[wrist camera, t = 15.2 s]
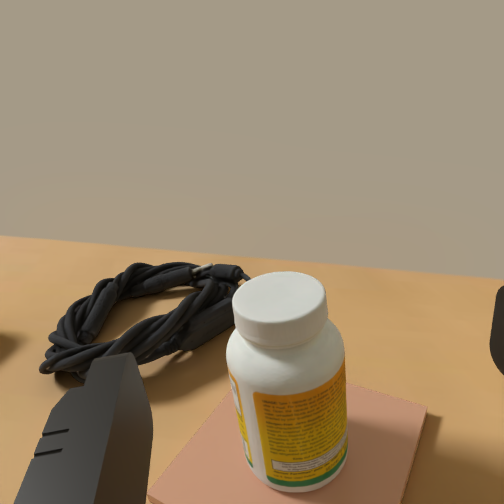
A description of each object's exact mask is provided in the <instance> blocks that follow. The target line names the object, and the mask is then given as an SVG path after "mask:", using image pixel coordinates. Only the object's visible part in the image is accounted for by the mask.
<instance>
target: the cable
mask: <svg viewBox="0 0 504 504" xmlns="http://www.w3.org/2000/svg"><path fill="white" fill-rule="evenodd" d="M242 279H244V280H246V281H249V280H251V279H250V277H249V276H248V275H246V274H244V272H243V270H242V269H241V268H240V267H239V266H237V265H226V264H216V265H214V266H213V264H212V263H210V264H206V265H203V266H198V265H195V264H191V263H185V262H172V263H166V264H162V265H159V266H152V265H149V264H145V263H134V264H132V265H130V266H129V267H128V268H127V269H126V270H125V272H122V273H120V274H118V275H117V276H116V277H115V278H107V279H103V280H101V281H99V282H98V283H97V284H96V286H95V288H94V290H93V293H92V295H89V296H86V297H84V298H81V299H79V300H77V301H76V302H74V303H73V304H72V305H71V306H70V307H69V309H68V310H67V312H66V315H64V316H63V317H62V318H61V319H60V320H59V322H58V325H57V331H54V332H52V333H51V334H50V335H49V337H48V339H49V341H50V342H51V343H53V344H54V345H53V346H52V347H50V348H49V349H48V350H47V351H46V353H45V357H46V359H47V360H46V361H44V362H43V363H42V364H41V365H40V367H39V371H40V373H42V374H51V373H54V372H56V371H59V370H62V371H67V372H70V373H71V375H72V376H73V377H74V378H75V379H76V380H77V381H79V382H81V383H84V384H85V381H86V378H87V375H88V372H89V369H90V366H91V363H92V361H93V360H94V359H95V358H101V357H106V356H112V355H117V354H123V353H128V352H131V353H132V354H133V355H134V357H135V360H136V362H137V365H142V364H146V363H149V362H151V361H154V360H156V359H159V358H161V357H163V356H165V355H166V356H168V355H170V354H172V353H174V352H176V351H178V350H183V351H188V350H193V349H195V348H197V347H199V346H200V345H202V344H204V343H205V342H207V341H208V340H210V339H212V338H213V337H215V336H216V335H218V334H220V333H221V332H223V331H224V330H226V329H227V328H229V327H231V326H232V325H234V323H235V321H234V313H233V306H232V299H233V296H234V294H235V292H236V291H237V289H238V282H239V281H240V280H242ZM182 283H185V284H187V285H189V286H192V287H204V286H205V287H204V289H203V290H202V291H198V292H194V293H191V294H189V295H188V296H187V297H186V298H184V299H183V300H182V302H181V303H180V304H179V306H178V307H177V308H175V309H174V310H172V311H171V312H169V313H168V314H164V315H158V316H154V317H151V318H148V319H145V320H143V321H141V322H139V323H137V324H136V325H134V326H133V327H132V328H130V329H129V330H128V331H127V332H125V333H124V334H123V335H122V336H121V337H120V338H118V339H116V340H112V341H110V342H106V343H105V342H104V343H94V344H90V343H91V341H92V339H95V338H96V337H97V335H98V333H99V331H100V329H101V327H102V325H103V323H104V321H105V319H106V317H107V315H108V313H109V311H110V309H111V307H112V306H113V305H114V303H115V302H117V301H120V300H123V299H126V298H129V297H132V296H133V297H138V296H142V295H145V294H153V293H157V292H161V291H163V290H165V289H167V288H170V287H174V286H177V285H179V284H182ZM228 286H229V287H231V290H230V292H229V294H227V293H228Z"/></svg>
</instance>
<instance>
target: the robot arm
mask: <svg viewBox="0 0 504 504" xmlns="http://www.w3.org/2000/svg"><path fill="white" fill-rule="evenodd" d="M490 352H491V356H492V358H493V361H494V363H495V365H496V366H497V368H498V369H499V370H500V372H501V373H502V374H503V375H504V286H502V287H501V288H500V289H499V290H498V292H497V295H496V301H495V308H494V315H493V322H492V329H491V336H490ZM152 440H153V419H152V412H151V407H150V404H149V400H148V397H147V394H146V391H145V388H144V385H143V381H142V378H141V375H140V372H139V369H138V366H137V362H136V360H135V357H134V355H133V354H132V353H131V352H128V353H123V354H117V355H112V356H106V357H101V358H95V359H94V360H93V361H92V363H91V366H90V369H89V372H88V375H87V378H86V381H85V384H84V386H81V387H76V388H70V389H69V390H68V391H67V393H66V394H65V395H64V396H63V397H62V398H61V400H60V401H59V402H58V403H57V404H56V405H55V407H54V408H53V409H52V410H51V413H50V415H49V418H48V420H47V423H46V425H45V427H44V430H43V432H42V438H40V440H39V442H38V445H37V447H36V450H35V452H34V459H32V460H31V462H30V465H29V467H28V470H27V472H26V474H25V477H24V479H23V482H22V484H21V487H20V489H19V492H18V494H17V497H16V499H15V502H14V504H145V503H146V494H147V485H148V476H149V467H150V458H151V449H152Z"/></svg>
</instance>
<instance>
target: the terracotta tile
mask: <svg viewBox="0 0 504 504" xmlns="http://www.w3.org/2000/svg"><path fill="white" fill-rule="evenodd" d="M346 403H347V427H348V453H347V458H346V462H345V464H344V466H343V468H342V469H341V471H340V472H339V474H338V475H337V476H336V477H335V478H334V479H333V480H332V481H331V482H329V483H328V484H327V485H325V486H323V487H321V488H319V489H316V490H313V491H309V492H298V493H297V492H284V491H279V490H276V489H274V488H271V487H269V486H268V485H266V484H264V483H263V482H262V481H261V480H259V479H258V478H257V477H256V475H255V474H254V473H253V472H252V470H251V469H250V467H249V465H248V463H247V460H246V457H245V452H244V448H243V443H242V438H241V434H240V429H239V423H238V418H237V413H236V407H235V403H234V397H233V392H232V389H231V390H230V391H229V393H228V394H227V395H226V396H225V398H224V399H223V400H222V401H221V402H220V404H219V405H218V406H217V407H216V409H215V410H214V411H213V412H212V413H211V415H210V416H209V417H208V418H207V420H206V421H205V422H204V423H203V424H202V426H201V427H200V428H199V429H198V431H197V432H196V433H195V434H194V436H193V437H192V438H191V439H190V440H189V442H188V443H187V444H186V445H185V447H184V448H183V449H182V450H181V451H180V453H179V454H178V455H177V456H176V458H175V459H174V460H173V461H172V462H171V464H170V465H169V466H168V467H167V469H166V470H165V471H164V472H163V473H162V475H161V476H160V477H159V478H158V480H157V481H156V482H155V483H154V485H153V486H152V487H151V488H150V489H149V491H148V492H147V496H148V499H149V501H150V502H152V503H154V504H401V502H402V499H403V495H404V492H405V489H406V485H407V482H408V478H409V475H410V471H411V468H412V464H413V461H414V457H415V454H416V450H417V447H418V444H419V440H420V437H421V433H422V430H423V426H424V423H425V419H426V416H427V406H424V405H420V404H417V403H414V402H410V401H407V400H403V399H400V398H397V397H393V396H390V395H386V394H383V393H380V392H376V391H373V390H369V389H366V388H363V387H359V386H356V385H352V384H349V383H346Z"/></svg>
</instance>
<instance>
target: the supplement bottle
mask: <svg viewBox="0 0 504 504" xmlns="http://www.w3.org/2000/svg"><path fill="white" fill-rule="evenodd" d="M232 306H233V313H234V321H235V326H236V329H235V330H234V331H233V333H232V335H231V336H230V338H229V341H228V344H227V349H226V360H227V366H228V372H229V377H230V382H231V387H232V392H233V397H234V403H235V407H236V413H237V418H238V423H239V429H240V434H241V438H242V443H243V448H244V452H245V457H246V460H247V463H248V465H249V467H250V469H251V470H252V472H253V473H254V474H255V475H256V477H257V478H258V479H259V480H261V481H262V482H263V483H264V484H266V485H268V486H269V487H271V488H274V489H276V490H279V491H284V492H297V493H298V492H309V491H313V490H316V489H319V488H321V487H323V486H325V485H327V484H328V483H329V482H331V481H332V480H333V479H334V478H335V477H336V476H337V475H338V474H339V472H340V471H341V469H342V468H343V466H344V464H345V462H346V458H347V453H348V427H347V403H346V375H345V352H344V343H343V339H342V337H341V334H340V332H339V330H338V329H337V327H336V326H335V325H334V324H333V323H332V322H331V321H330V320H329V319H328V309H327V300H326V292H325V289H324V287H323V285H322V284H321V283H320V282H319V281H318V280H317V279H316V278H314V277H312V276H310V275H307V274H303V273H298V272H273V273H268V274H264V275H261V276H258V277H255V278H253V279H251V280H249V281H247V282H245V283H244V284H243V285H241V286H240V287H239V288H238V289H237V291H236V292H235V294H234V296H233V299H232Z"/></svg>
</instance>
